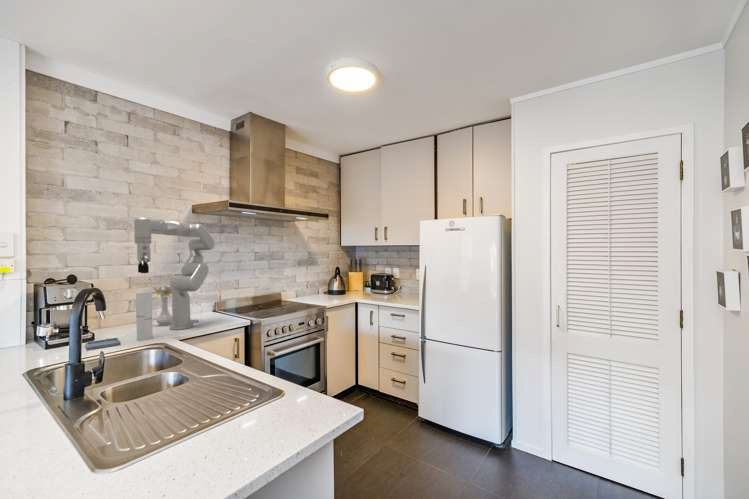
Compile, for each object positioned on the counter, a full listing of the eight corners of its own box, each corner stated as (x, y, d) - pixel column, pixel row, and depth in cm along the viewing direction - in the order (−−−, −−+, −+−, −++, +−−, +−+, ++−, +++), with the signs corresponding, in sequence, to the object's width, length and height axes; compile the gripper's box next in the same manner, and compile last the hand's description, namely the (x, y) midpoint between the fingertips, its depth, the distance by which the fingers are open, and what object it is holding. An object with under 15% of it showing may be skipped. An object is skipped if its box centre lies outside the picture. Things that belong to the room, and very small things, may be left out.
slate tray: (117, 340, 179) (117, 337, 179) (120, 345, 170) (120, 342, 170) (85, 345, 171) (85, 342, 171) (86, 350, 161) (86, 347, 161)
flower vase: (144, 326, 213) (143, 286, 213) (176, 321, 227) (176, 283, 227) (150, 329, 205) (149, 287, 205) (183, 323, 218) (182, 285, 218)
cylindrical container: (138, 337, 184) (137, 291, 184) (153, 336, 187) (153, 290, 187) (135, 341, 177) (134, 293, 177) (151, 339, 180) (150, 292, 180)
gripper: (154, 240, 178) (154, 273, 178) (148, 241, 191) (148, 272, 191) (137, 240, 173) (137, 273, 173) (132, 241, 186) (132, 272, 186)
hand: (143, 272), depth 182 cm, fingers open, 9 cm apart
